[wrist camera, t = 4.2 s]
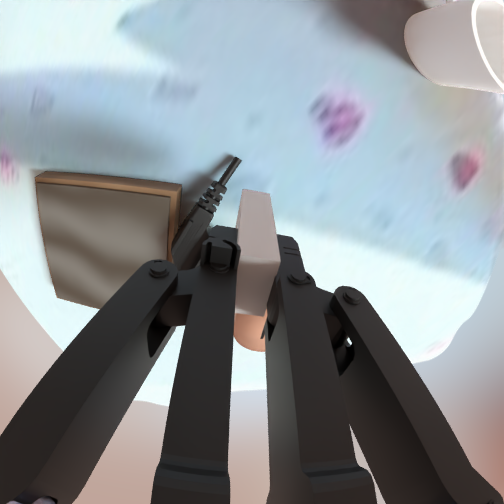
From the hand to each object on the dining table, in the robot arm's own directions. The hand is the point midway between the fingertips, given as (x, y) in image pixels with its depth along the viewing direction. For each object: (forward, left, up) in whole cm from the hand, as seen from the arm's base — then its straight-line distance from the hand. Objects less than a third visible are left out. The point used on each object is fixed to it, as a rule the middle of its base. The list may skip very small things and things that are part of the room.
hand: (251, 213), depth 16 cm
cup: (-19, +15, -10) cm, 26 cm away
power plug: (0, +2, -10) cm, 10 cm away
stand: (+10, -14, -10) cm, 20 cm away
